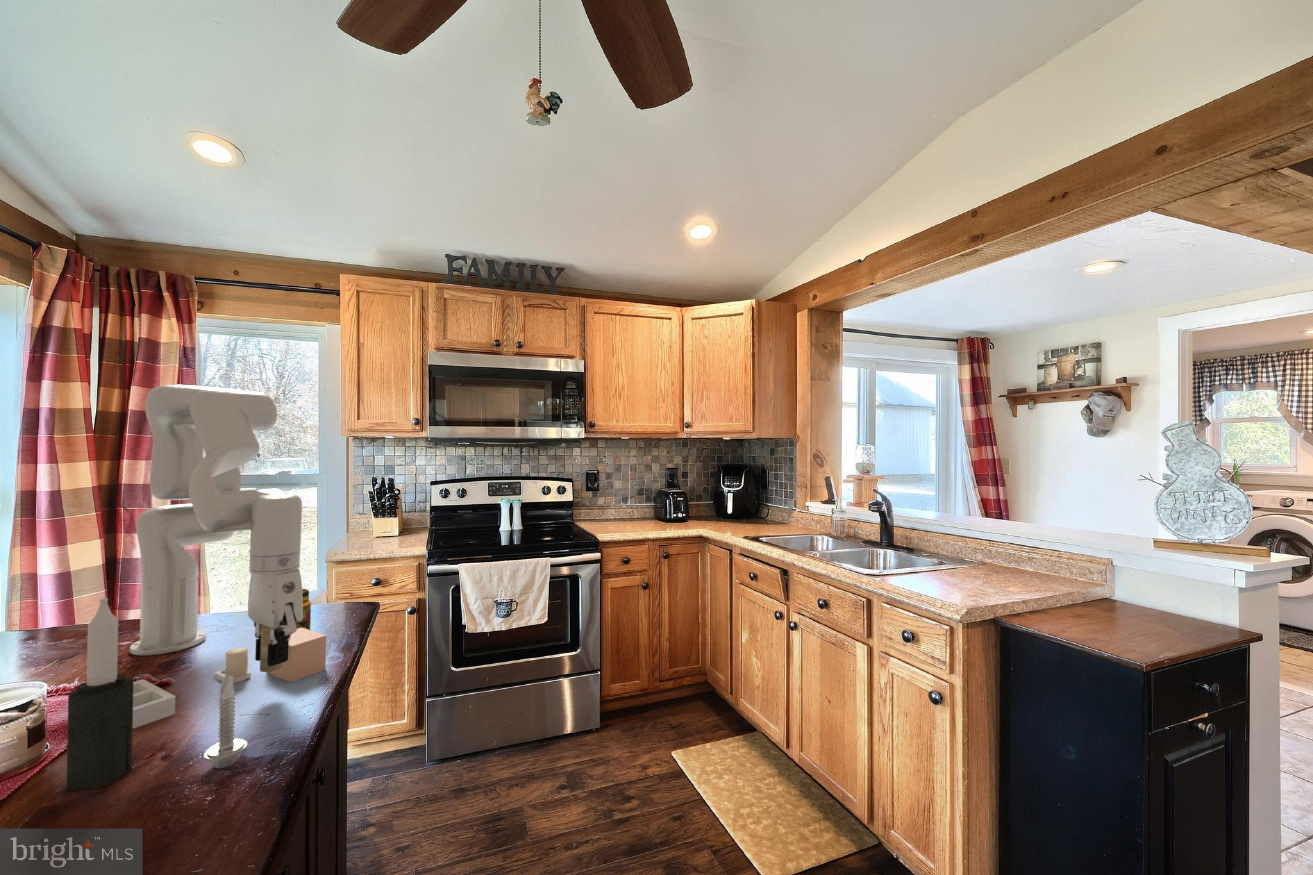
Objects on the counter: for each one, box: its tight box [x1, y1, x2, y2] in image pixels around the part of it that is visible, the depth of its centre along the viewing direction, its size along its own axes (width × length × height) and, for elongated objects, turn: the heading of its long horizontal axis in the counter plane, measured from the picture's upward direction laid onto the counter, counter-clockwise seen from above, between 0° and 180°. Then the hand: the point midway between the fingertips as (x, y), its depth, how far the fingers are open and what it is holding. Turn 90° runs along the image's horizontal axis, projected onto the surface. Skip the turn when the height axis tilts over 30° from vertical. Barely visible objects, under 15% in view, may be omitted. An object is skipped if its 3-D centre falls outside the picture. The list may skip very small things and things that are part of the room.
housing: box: [267, 628, 327, 683], centre depth 107 cm, size 9×6×7 cm
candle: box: [66, 597, 134, 791], centre depth 73 cm, size 5×5×25 cm
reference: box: [213, 647, 252, 685], centre depth 103 cm, size 6×4×6 cm, turn 62°
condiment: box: [295, 588, 312, 630], centre depth 121 cm, size 7×8×12 cm
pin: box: [259, 621, 284, 673], centre depth 97 cm, size 3×3×9 cm
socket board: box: [133, 678, 176, 730], centre depth 90 cm, size 13×7×3 cm, turn 62°
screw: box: [203, 674, 248, 770], centre depth 77 cm, size 13×5×5 cm
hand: (271, 659), depth 97 cm, fingers closed on pin, 3 cm apart
